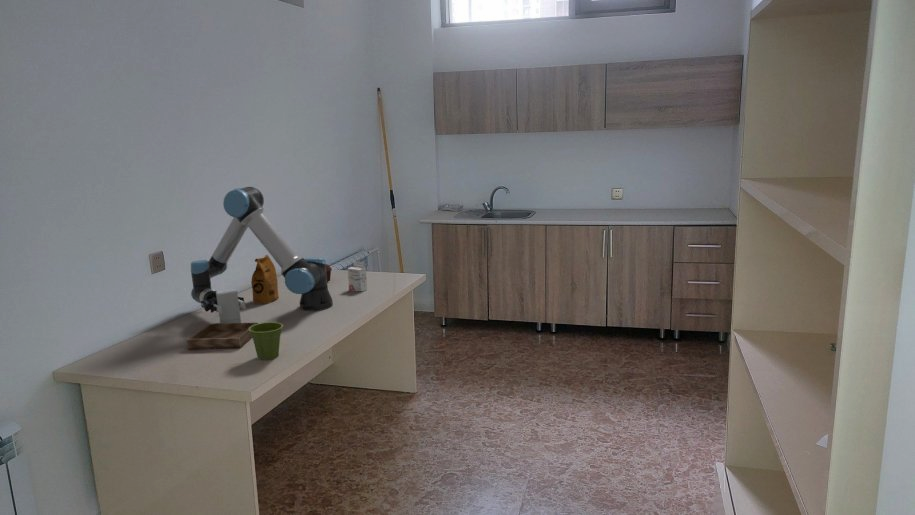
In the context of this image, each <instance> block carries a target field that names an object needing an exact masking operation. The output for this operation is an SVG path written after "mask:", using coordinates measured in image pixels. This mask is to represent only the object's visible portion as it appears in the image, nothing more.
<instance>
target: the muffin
mask: <svg viewBox="0 0 915 515" xmlns="http://www.w3.org/2000/svg"><path fill="white" fill-rule="evenodd" d="M326 271H327V283H329V282H328V281H330V282H331V278H332V277H331V274H332V267H331V266H330V265H329V264H327V263H326Z"/></svg>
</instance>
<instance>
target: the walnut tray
mask: <svg viewBox="0 0 915 515" xmlns="http://www.w3.org/2000/svg"><path fill="white" fill-rule="evenodd" d="M256 324H259V322H241V323H220V322H219V323H217V322H216V323H208V324H207V325H205V326H204V327H203V328H202V329H200V330H199V331H197V332H196V333H194V334H193V335H191V336H190V337H189V338H187V339H186V345H187V350H189V351H194V350H195V351H196V350H240V349H242V348H243V347H244V346H245V345H246V344H248V343H249V342H250V341H251V340H253V337H252V336H251V332H250V331H249V330H248V329H249V327H251V326H253V325H256Z"/></svg>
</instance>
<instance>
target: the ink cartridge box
mask: <svg viewBox="0 0 915 515" xmlns="http://www.w3.org/2000/svg"><path fill="white" fill-rule="evenodd" d="M347 276H348V280H347V281H348V290H349V291H352V290H354V292H358V291H362V292H365V291H368V284H367V283H368V282H367V268H366V262H364V261H357V260H353V266H351V267H348V268H347ZM364 290H365V291H364Z"/></svg>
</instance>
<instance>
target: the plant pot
mask: <svg viewBox="0 0 915 515" xmlns="http://www.w3.org/2000/svg"><path fill="white" fill-rule="evenodd" d="M283 327H284V325H283V323H280V322H276V321H272V322H271V321H270V322H269V321H268V322H267V321H266V322H262V323H259V322H258V324H256V325H253V326H251V327H249V329H248V330H249V331H250V332H251V336H252V337H253V338H252V341H253V345H254V348H255V352H256V355H257V356H256V357H257V358H258V359H259V360H267V361H269V360H273V359H276V358H277V357H278V356H279V355H280V354H279V353H280V345H281V344H280V342H281V335H282V328H283Z"/></svg>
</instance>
